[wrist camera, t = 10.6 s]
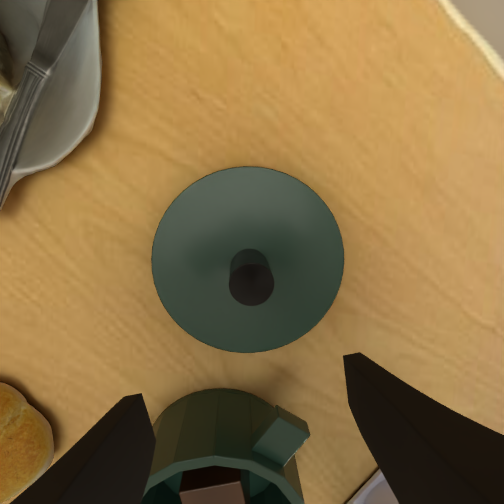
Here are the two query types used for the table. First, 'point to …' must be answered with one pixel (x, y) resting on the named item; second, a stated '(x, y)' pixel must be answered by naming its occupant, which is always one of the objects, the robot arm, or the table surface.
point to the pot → (227, 445)
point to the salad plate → (46, 83)
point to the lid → (247, 259)
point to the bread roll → (21, 443)
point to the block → (215, 486)
